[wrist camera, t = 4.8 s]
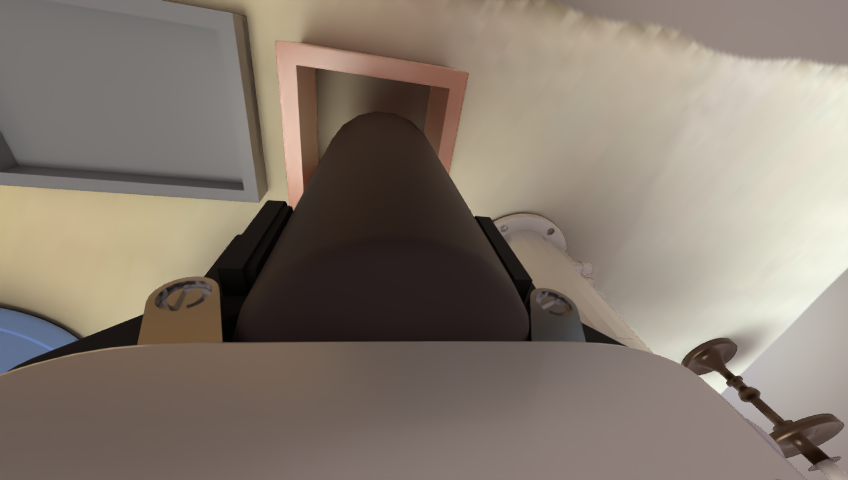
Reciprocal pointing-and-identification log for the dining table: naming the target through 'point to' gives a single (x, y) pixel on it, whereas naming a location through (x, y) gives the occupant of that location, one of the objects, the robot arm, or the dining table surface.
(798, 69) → the dining table surface
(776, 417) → the candlestick
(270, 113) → the dining table surface
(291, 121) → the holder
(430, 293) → the vinegar
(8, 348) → the water jug
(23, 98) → the tray
